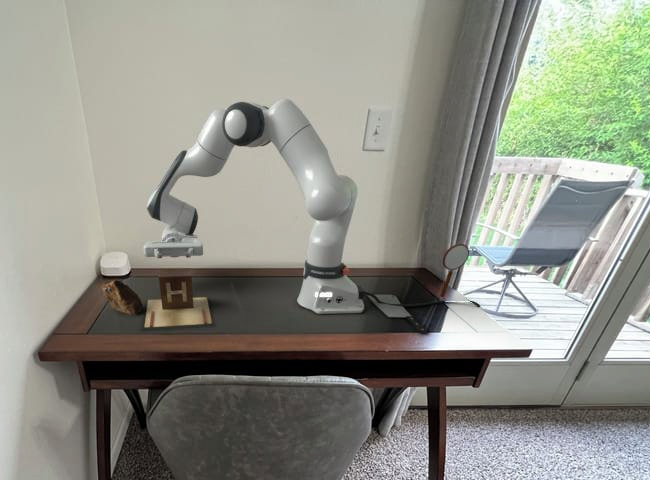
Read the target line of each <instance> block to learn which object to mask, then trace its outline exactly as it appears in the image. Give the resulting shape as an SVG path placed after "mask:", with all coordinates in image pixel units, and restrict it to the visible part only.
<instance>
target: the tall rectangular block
mask: <svg viewBox="0 0 650 480" xmlns="http://www.w3.org/2000/svg"><path fill="white" fill-rule="evenodd" d="M158 283H159V293H160V299H161V301H162V310H167V309H186V308H194V307H193V298H194V294H193V293H194V292H193V291H194V290H193V277H192V269H191V268H190V267H189V268H187V267H186V268H162V269H161V268H160V269H159V270H158Z"/></svg>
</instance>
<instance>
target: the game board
mask: <svg viewBox="0 0 650 480" xmlns="http://www.w3.org/2000/svg"><path fill="white" fill-rule="evenodd" d="M208 301H209V300H208V297H206V296H203V297H193V307H194V308H186V309H167V310H162V301H161V298H160V299H148V300H147V305H146V312H145V320H144V328H159V327H161V328H162V327H175V326H192V325H193V326H195V325H208V324H209V325H210V324H213V321H212V316H211V311H210V307H209V302H208Z"/></svg>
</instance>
